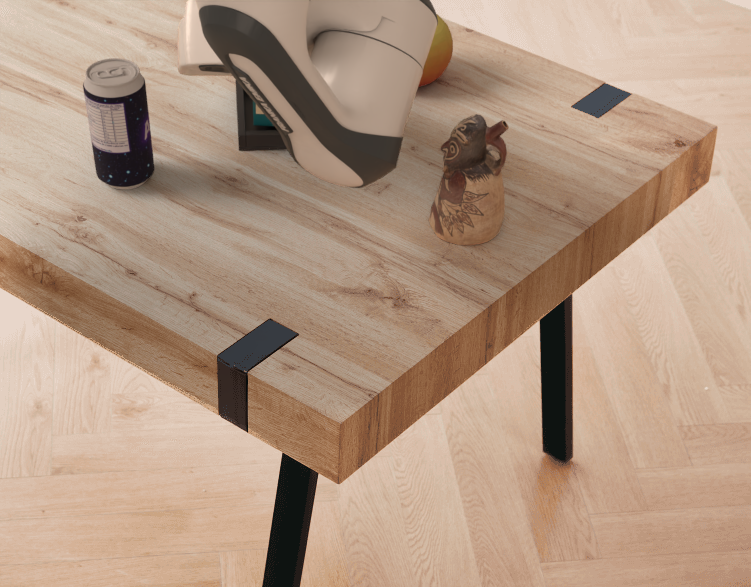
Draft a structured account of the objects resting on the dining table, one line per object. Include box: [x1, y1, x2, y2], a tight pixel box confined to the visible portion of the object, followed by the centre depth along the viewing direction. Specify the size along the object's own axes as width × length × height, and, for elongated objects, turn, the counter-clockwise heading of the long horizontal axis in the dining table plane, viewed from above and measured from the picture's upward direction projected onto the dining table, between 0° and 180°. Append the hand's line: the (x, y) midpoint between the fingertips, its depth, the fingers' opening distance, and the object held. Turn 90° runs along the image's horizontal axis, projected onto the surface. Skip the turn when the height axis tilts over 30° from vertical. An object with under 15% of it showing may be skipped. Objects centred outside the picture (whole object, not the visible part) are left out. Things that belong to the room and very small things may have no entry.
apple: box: [418, 13, 454, 88], centre depth 122 cm, size 10×10×8 cm
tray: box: [235, 79, 287, 151], centre depth 116 cm, size 9×12×2 cm
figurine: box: [427, 113, 509, 246], centre depth 100 cm, size 7×7×12 cm
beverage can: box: [82, 57, 155, 191], centre depth 103 cm, size 6×6×12 cm
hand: (280, 72), depth 114 cm, fingers closed on tissue box, 5 cm apart
